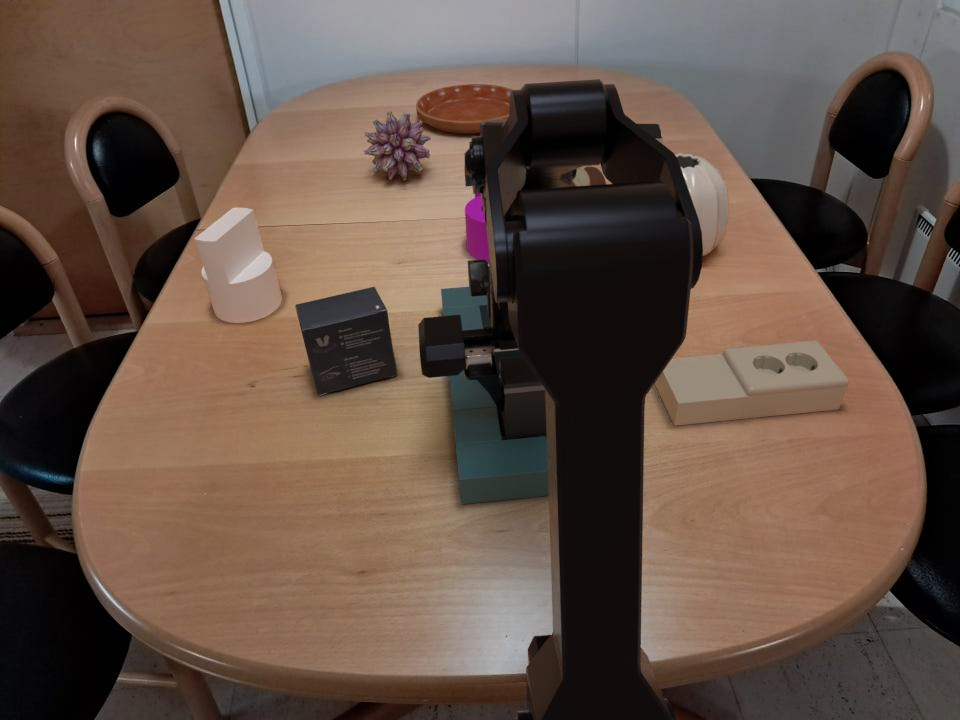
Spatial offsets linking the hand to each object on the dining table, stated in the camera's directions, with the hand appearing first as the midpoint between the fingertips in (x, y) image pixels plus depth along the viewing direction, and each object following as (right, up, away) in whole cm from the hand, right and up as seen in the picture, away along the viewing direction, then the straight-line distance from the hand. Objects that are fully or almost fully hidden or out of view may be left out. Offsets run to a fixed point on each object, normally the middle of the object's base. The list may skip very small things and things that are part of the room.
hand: (523, 407), depth 68 cm
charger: (0, -2, +1) cm, 2 cm away
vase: (+24, +21, +33) cm, 46 cm away
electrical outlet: (+25, +1, +8) cm, 26 cm away
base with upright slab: (-36, +12, +26) cm, 46 cm away
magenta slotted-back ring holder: (-1, +23, +38) cm, 45 cm away
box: (-19, +3, +14) cm, 24 cm away
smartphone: (+23, +48, +68) cm, 86 cm away
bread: (+11, +33, +49) cm, 60 cm away
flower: (-18, +37, +57) cm, 71 cm away
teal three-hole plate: (-1, +2, +11) cm, 11 cm away
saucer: (-6, +56, +79) cm, 97 cm away
